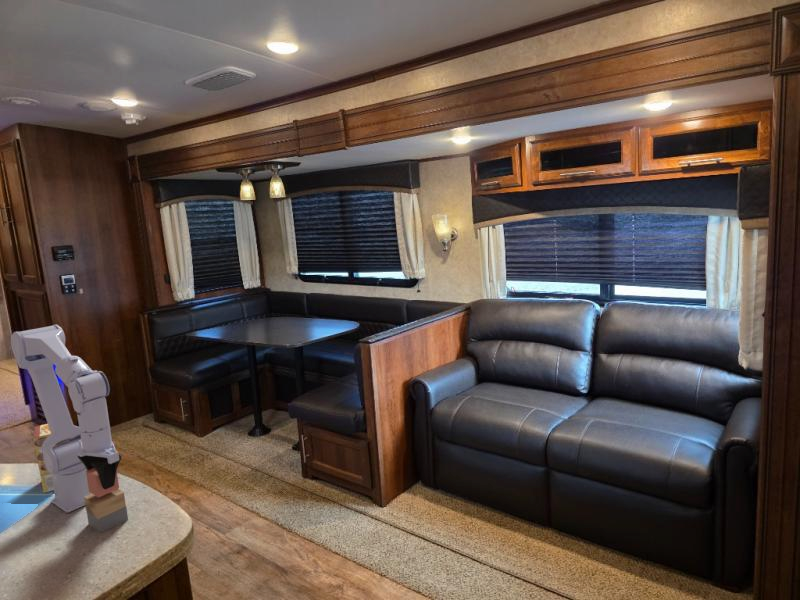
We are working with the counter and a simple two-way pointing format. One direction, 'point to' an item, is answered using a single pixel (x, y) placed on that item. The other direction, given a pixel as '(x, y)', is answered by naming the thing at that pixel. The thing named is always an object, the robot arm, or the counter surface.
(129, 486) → the counter surface
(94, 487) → the red block
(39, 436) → the candy box
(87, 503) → the tower middle
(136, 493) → the counter surface
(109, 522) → the tower base
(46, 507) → the counter surface
